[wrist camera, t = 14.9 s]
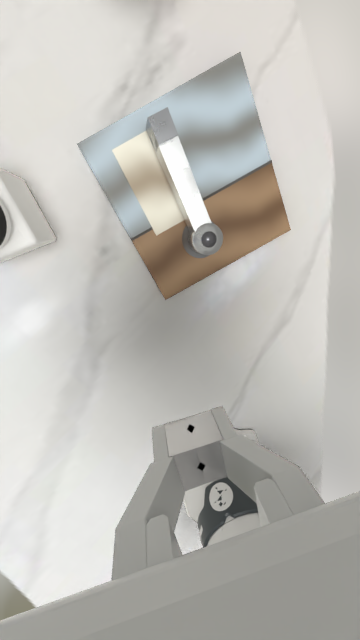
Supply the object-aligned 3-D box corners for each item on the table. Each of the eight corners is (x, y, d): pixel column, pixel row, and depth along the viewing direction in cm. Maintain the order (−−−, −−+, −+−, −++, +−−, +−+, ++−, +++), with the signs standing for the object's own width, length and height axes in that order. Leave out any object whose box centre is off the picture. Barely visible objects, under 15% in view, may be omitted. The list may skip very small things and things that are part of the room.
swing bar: (218, 245, 32) (228, 246, 29) (194, 257, 32) (201, 260, 29) (169, 117, 26) (174, 102, 23) (139, 132, 26) (141, 119, 23)
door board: (285, 229, 35) (291, 229, 33) (164, 297, 35) (165, 300, 33) (235, 59, 27) (241, 50, 25) (79, 147, 27) (76, 143, 25)
